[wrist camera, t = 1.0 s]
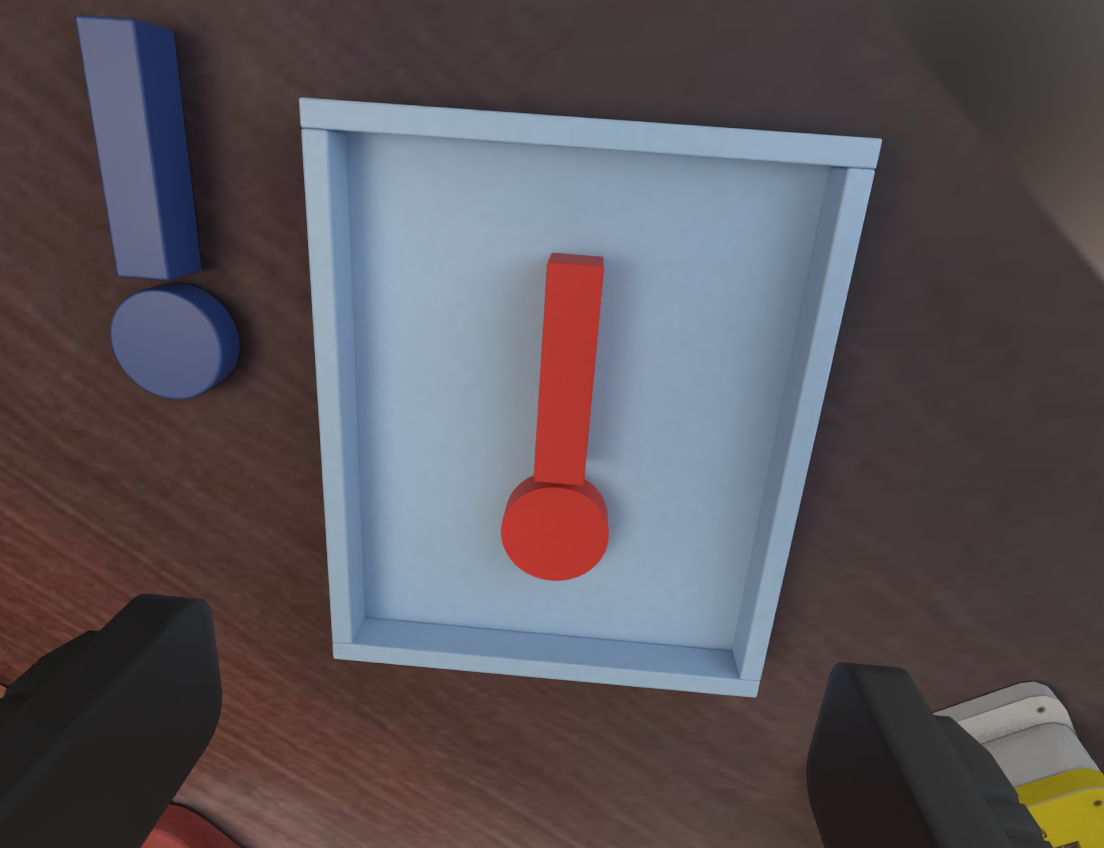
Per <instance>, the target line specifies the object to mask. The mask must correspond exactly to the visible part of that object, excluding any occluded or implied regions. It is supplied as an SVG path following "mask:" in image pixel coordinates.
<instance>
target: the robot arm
mask: <svg viewBox="0 0 1104 848" xmlns="http://www.w3.org/2000/svg"><path fill="white" fill-rule="evenodd" d="M221 706H222V686H221V679H220V671H219V664H218V656H217V648H216V641H215V633H214V625H213V618H212V612H211V609H210V606H209V604H208V603H207V602H206V601H205V600H203V599H197V598H186V597H176V596H165V595H155V594H141V595H139V596H137V597H135V598H134V599H132V600H131V601H130V602H129V603H128V604H127V605H126V606H125V607H124V608H123V609H122V610H121V611H120V612H119V613H118V614H117V615H116V616H114V617H113V618H112V619H111V620H110V621H109V622H108V623H107V624H106V625H105V626H104V627H103V628H102V629H101V630H100V631H90V630H89V631H87V632H85V633H84V634H82V635H80V636H78V637H76V638H75V639H73V640H71V641H69V642H68V643H66V644H64V645H62V646H60V647H59V648H57V649H55V650H53V651H52V652H50V653H48V654H46V655H44V656H43V657H41V658H40V659H39V660H38V661H37V662H36V663H35V664H34V665H32V666H31V667H30V668H29V669H28V670H27V671H26V672H25V673H24V674H23V675H22V676H20V677H19V678H18V679H17V680H16V681H15V682H14V683H13V684H12V685H11V686H9V687H8V688H7V689H6V690H5V694H4V696H3V697H2V698H0V848H141V847H142V845H143V844H144V842H145V841H146V839H147V838H148V836H149V834H150V833H151V831H152V830H153V828H154V827H155V825H156V824H157V822H158V821H159V819H160V818H161V816H162V815H163V813H164V812H165V810H166V808H167V807H168V805H169V804H170V802H171V801H172V799H173V798H174V796H175V795H176V793H177V792H178V790H179V789H180V787H181V785H182V784H183V782H184V781H185V779H186V778H187V776H188V775H189V773H190V772H191V770H192V769H193V767H194V766H195V764H196V763H197V761H198V759H199V758H200V756H201V755H202V753H203V752H204V750H205V749H206V747H207V746H208V744H209V742H210V740H211V738H212V736H213V734H214V732H215V729H216V726H217V723H218V720H219V716H220V712H221ZM807 786H808V794H809V799H810V804H811V807H812V811H813V814H814V817H815V820H816V823H817V826H818V829H819V832H820V835H821V838H822V841H823V844H824V847H825V848H1053V846H1052V845H1051V843H1050V842H1049V841H1045V840H1044V839H1043V835H1042V833H1043V831H1042V830H1041V828H1040V826H1039V825H1038V823H1037V822H1036V820H1035V819H1034V817H1033V816H1032V814H1031V813H1030V811H1029V810H1028V808H1027V807H1026V805H1025V804H1022V803H1020V802H1019V799H1018V796H1019V795H1018V793H1017V792H1016V790H1015V789H1014V787H1013V786H1012V784H1011V783H1010V781H1009V780H1008V778H1007V777H1006V775H1005V774H1004V772H1003V771H1002V769H1001V768H1000V766H999V765H998V763H997V762H996V760H995V759H994V757H993V756H992V754H991V753H990V752H989V751H988V750H987V749H986V748H985V747H984V746H982V745H981V744H980V743H979V742H978V741H977V740H976V739H975V738H974V737H972V736H971V735H970V734H969V733H968V732H967V731H966V730H965V729H964V728H962V727H961V726H960V725H959V724H958V723H957V722H956V721H955V720H954V719H952V718H951V717H950V716H940V715H934V714H933V713H932V711H931V709H930V708H929V706H928V704H927V703H926V701H925V699H924V698H923V696H922V694H921V693H920V691H919V689H918V688H917V686H916V685H915V683H914V681H913V680H912V678H911V677H910V675H909V674H908V673H907V672H906V671H905V670H903V669H902V668H897V667H886V666H876V665H865V664H855V663H844V662H839V663H837V664H836V665H835V666H834V667H833V669H832V671H831V674H830V676H829V680H828V684H827V687H826V691H825V695H824V698H823V702H822V705H821V709H820V713H819V716H818V720H817V724H816V727H815V731H814V735H813V738H812V742H811V746H810V749H809V754H808V760H807Z"/></svg>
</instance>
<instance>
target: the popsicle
mask: <svg viewBox="0 0 1104 848" xmlns="http://www.w3.org/2000/svg"><path fill="white" fill-rule="evenodd" d="M141 848H241V847H240V846H238V845H237V844H236V843H235V842H233V841H232V840H231V839H230V838H228V837H227V836H226V835H225V834H223V833H222V832H221V831H220V830H218V829H217V828H216V827H214V826H213V825H212V824H211V823H209V822H208V821H207V820H205V819H204V818H202V817H201V816H199V815H198V814H196V813H194V812H192V811H190V810H188V809H186V808H184V807H180V806H177V805H172V804H169V805H168V807H167V808H166V810H165V812H164V813H163V815H162V816H161V818H160V819H159V821H158V822H157V824H156V825H155V827H154V828H153V830H152V831H151V833H150V834H149V836H148V838H147V839H146V841H145V842H144V844H143V845H142V847H141Z"/></svg>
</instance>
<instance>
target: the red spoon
mask: <svg viewBox="0 0 1104 848" xmlns="http://www.w3.org/2000/svg"><path fill="white" fill-rule="evenodd" d="M603 277H604V260H603V257H601V256H588V255H574V254H561V253H551V255H550V258H549V260H548V263H547V272H546V288H545V304H544V319H543V335H542V351H541V367H540V382H539V398H538V414H537V429H536V445H535V461H534V475H533V476H531V477H529V478H527V479H526V480H524V481H523V482H521V483H520V484H519V485H518V486H517V487H516V488H515V489H514V490H513V492H512V493H511V495H510V497H509V499H508V501H507V504H506V508H505V512H504V516H503V520H502V525H501V539H502V544H503V547H504V549H505V551H506V553H507V555H508V556H509V558H510V559H511V561H512V562H513V563H514V564H515V565H516V566H517V567H518V568H520V569H521V570H522V571H524V572H525V573H527V574H529V575H531V576H534V577H536V578H539V579H543V580H549V581H564V580H570V579H573V578H577V577H579V576H581V575H583V574H585V573H587V572H588V571H590V570H591V569H592V568H594V567H595V566H596V565H597V564H598V562H599V561H600V560H601V558H602V557H603V555H604V553H605V551H606V549H607V546H608V541H609V523H608V510H607V507H606V503H605V501H604V499H603V497H602V495H601V494H600V492H599V491H598V490H597V489H596V488H595V487H594V486H593V485H592V484H591V483H590V482H588V481H587V480H585V468H586V458H587V447H588V437H589V426H590V415H591V405H592V394H593V383H594V373H595V362H596V352H597V341H598V330H599V320H600V309H601V298H602V288H603Z"/></svg>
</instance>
